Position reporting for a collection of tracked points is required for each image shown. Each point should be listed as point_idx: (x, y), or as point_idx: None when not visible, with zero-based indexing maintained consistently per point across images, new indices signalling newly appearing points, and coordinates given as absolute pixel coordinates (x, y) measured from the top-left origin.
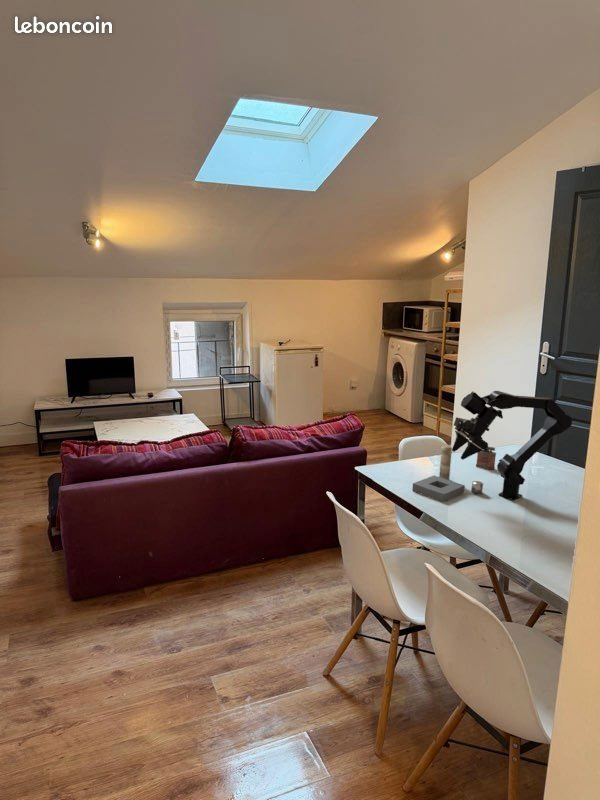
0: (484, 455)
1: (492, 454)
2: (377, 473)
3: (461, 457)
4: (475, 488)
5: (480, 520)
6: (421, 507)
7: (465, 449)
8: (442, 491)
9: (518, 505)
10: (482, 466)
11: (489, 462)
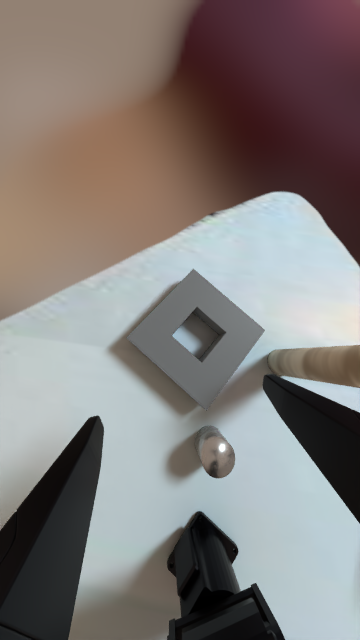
0: None
1: None
2: (274, 219)
3: (84, 424)
4: (200, 442)
5: (12, 422)
6: (91, 285)
7: (37, 519)
8: (147, 336)
9: (129, 570)
10: None
11: None
